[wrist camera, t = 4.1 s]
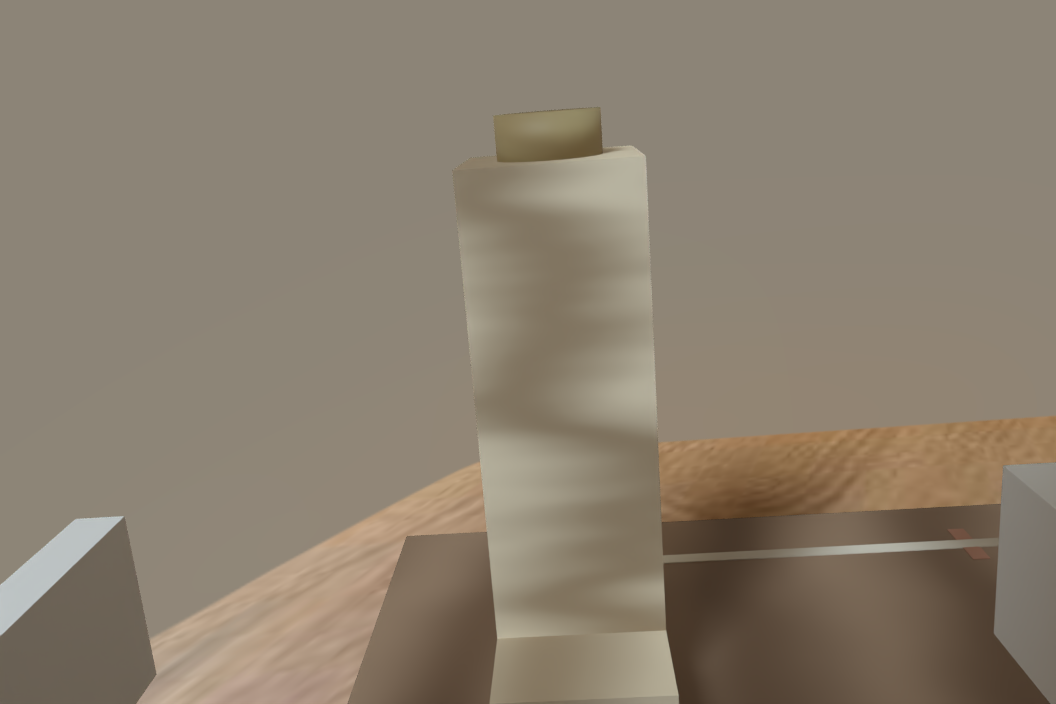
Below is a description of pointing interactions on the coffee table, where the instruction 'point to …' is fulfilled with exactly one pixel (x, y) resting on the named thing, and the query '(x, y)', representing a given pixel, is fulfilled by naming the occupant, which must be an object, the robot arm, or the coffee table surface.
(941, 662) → the grey flat plate
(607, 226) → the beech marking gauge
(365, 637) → the coffee table surface
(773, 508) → the coffee table surface
